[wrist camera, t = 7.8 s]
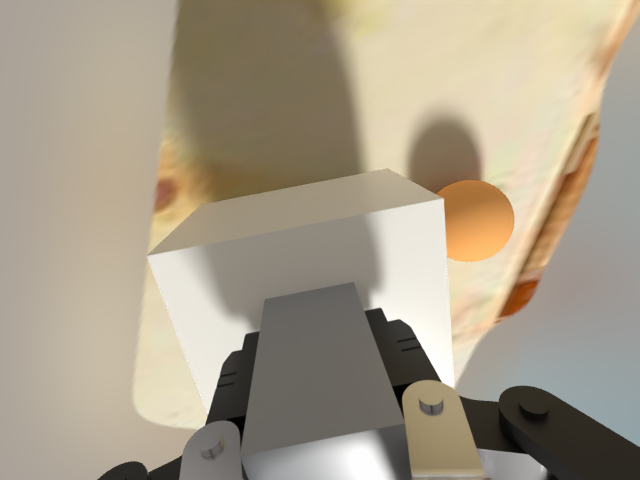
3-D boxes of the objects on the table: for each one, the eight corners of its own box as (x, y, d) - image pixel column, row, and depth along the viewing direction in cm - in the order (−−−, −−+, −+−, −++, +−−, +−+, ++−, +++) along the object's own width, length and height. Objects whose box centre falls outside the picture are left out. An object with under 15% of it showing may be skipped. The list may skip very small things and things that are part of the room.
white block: (201, 204, 18) (-1, 393, 6) (387, 168, 18) (591, 277, 6) (240, 331, 21) (161, 645, 8) (402, 299, 21) (560, 564, 8)
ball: (531, 185, 17) (499, 168, 22) (429, 196, 18) (419, 177, 23) (525, 273, 19) (497, 240, 24) (432, 278, 20) (422, 246, 25)
